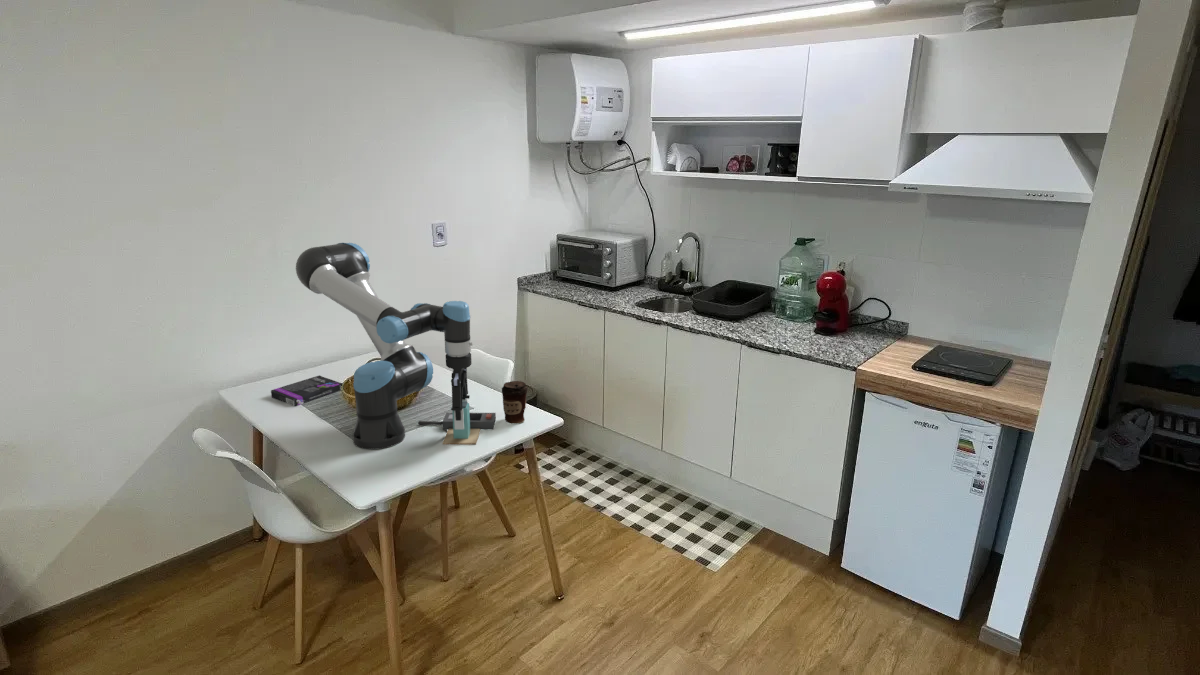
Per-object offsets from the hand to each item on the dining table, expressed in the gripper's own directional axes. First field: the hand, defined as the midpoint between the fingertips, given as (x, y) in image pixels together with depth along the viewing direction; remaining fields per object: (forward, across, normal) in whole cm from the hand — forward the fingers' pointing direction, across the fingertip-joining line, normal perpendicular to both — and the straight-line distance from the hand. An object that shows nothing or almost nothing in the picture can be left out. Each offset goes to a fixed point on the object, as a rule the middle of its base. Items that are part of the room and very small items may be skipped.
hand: (461, 423), depth 194 cm
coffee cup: (+5, +12, -15) cm, 20 cm away
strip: (+5, +9, +3) cm, 11 cm away
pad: (+5, 0, 0) cm, 5 cm away
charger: (+4, 0, 0) cm, 4 cm away
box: (+5, +35, +61) cm, 71 cm away
